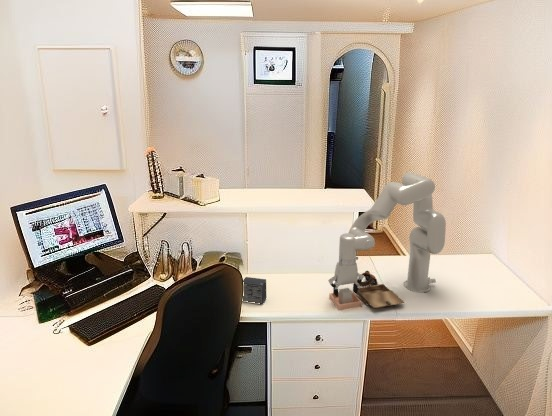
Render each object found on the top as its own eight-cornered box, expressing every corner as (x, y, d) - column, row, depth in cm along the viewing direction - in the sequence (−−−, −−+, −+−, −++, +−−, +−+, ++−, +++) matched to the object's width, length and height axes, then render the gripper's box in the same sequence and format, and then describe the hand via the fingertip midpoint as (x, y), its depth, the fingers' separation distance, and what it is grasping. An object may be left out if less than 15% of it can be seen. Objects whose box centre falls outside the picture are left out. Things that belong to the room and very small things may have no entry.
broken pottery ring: (381, 291, 211) (375, 280, 207) (363, 297, 213) (356, 286, 210) (376, 275, 221) (371, 264, 217) (359, 281, 224) (353, 270, 220)
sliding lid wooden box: (383, 289, 212) (383, 282, 210) (404, 309, 194) (405, 301, 193) (354, 294, 207) (355, 286, 206) (373, 314, 190) (374, 306, 189)
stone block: (347, 299, 202) (348, 287, 200) (351, 303, 198) (352, 292, 196) (338, 300, 201) (339, 289, 199) (342, 305, 196) (343, 293, 195)
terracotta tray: (350, 295, 206) (351, 290, 205) (361, 307, 196) (361, 301, 195) (329, 299, 203) (329, 293, 202) (338, 311, 193) (339, 305, 192)
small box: (267, 298, 204) (266, 278, 201) (263, 305, 198) (262, 285, 195) (246, 295, 207) (245, 276, 204) (241, 302, 201) (241, 282, 198)
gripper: (360, 254, 198) (358, 287, 203) (326, 259, 194) (325, 292, 199) (368, 261, 191) (366, 295, 197) (332, 266, 187) (331, 300, 192)
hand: (345, 293), depth 198 cm, fingers open, 9 cm apart
